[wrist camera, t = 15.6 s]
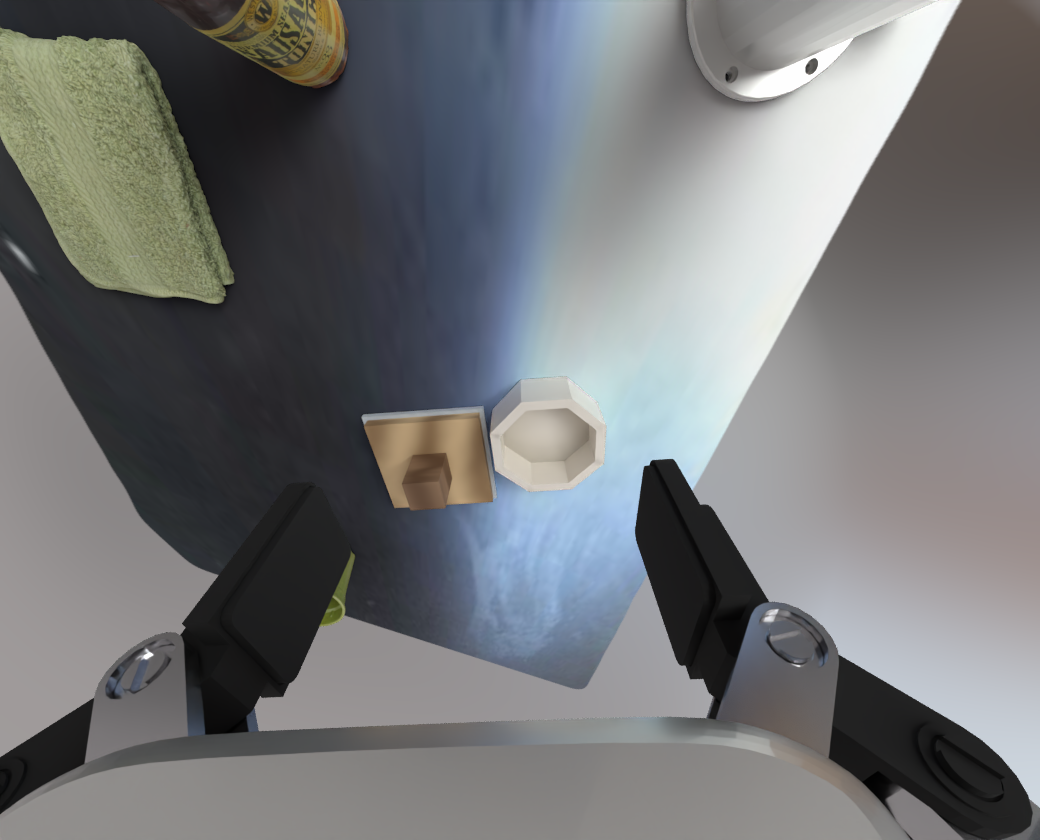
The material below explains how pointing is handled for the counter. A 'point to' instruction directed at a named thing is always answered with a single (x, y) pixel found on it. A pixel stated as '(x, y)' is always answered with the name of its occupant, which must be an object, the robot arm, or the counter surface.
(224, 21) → the sauce bottle
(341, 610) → the plant pot
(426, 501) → the lid
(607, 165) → the counter surface
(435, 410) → the mat
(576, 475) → the bowl
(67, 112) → the washcloth
